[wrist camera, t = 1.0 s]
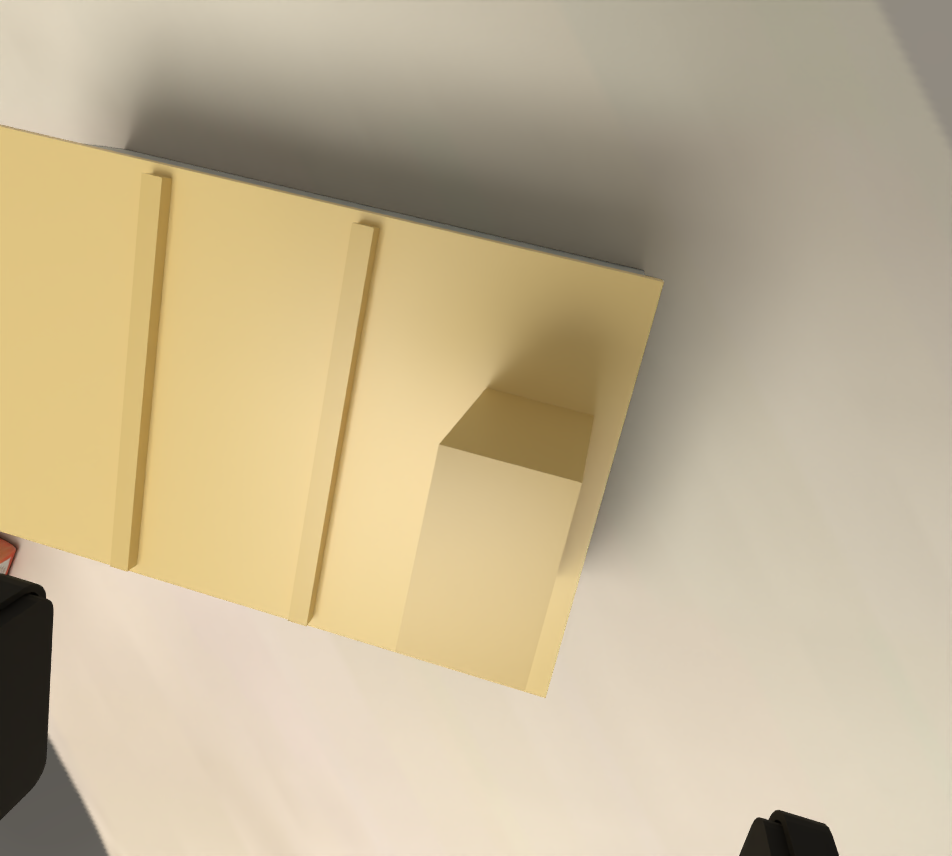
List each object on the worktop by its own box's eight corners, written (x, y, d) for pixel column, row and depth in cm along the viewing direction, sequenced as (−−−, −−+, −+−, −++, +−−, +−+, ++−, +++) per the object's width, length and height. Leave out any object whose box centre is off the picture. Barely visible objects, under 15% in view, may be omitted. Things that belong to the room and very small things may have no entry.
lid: (662, 279, 20) (676, 306, 14) (548, 682, 24) (520, 837, 18) (-33, 116, 23) (-268, 82, 17) (-39, 505, 27) (-233, 588, 21)
